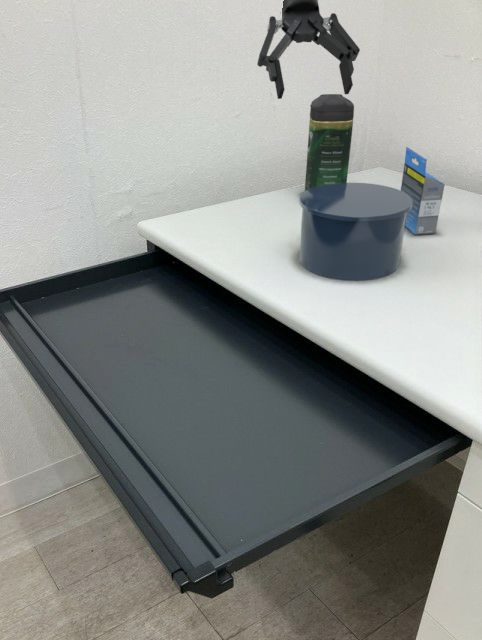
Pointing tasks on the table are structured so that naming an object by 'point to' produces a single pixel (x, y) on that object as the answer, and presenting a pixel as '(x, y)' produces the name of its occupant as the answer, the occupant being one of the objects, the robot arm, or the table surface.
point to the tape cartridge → (421, 195)
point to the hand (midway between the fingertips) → (315, 92)
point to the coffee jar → (329, 140)
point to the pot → (352, 230)
